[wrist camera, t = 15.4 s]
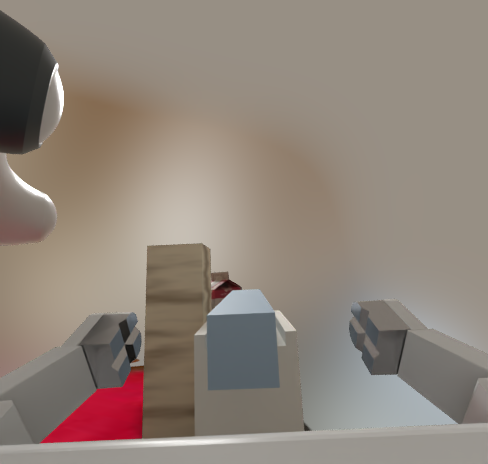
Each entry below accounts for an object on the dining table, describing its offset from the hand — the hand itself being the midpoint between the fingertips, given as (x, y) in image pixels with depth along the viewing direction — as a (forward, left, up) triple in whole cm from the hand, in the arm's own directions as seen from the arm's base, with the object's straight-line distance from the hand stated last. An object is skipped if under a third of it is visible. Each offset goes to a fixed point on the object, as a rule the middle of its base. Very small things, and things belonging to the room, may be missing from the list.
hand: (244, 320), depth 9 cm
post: (-24, +20, -20) cm, 37 cm away
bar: (-8, +14, -5) cm, 17 cm away
